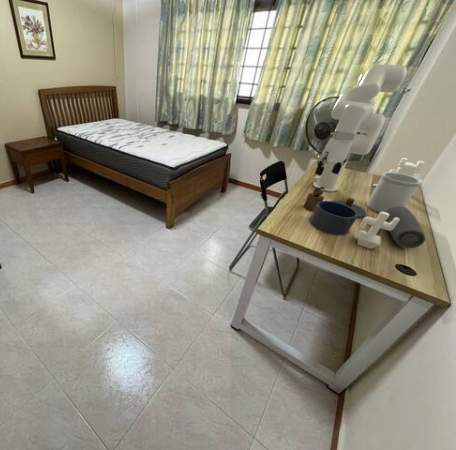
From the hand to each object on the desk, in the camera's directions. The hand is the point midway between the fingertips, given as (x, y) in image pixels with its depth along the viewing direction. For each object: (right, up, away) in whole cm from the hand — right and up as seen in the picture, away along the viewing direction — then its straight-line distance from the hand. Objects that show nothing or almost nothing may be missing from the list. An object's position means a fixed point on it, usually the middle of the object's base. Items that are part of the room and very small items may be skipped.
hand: (326, 173), depth 112 cm
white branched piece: (+62, -4, +31) cm, 69 cm away
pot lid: (+17, -16, +10) cm, 25 cm away
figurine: (+6, -32, -13) cm, 35 cm away
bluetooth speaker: (+25, -29, -8) cm, 39 cm away
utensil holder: (+38, -16, +13) cm, 43 cm away
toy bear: (0, -15, +11) cm, 19 cm away
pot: (-1, -24, -2) cm, 24 cm away
